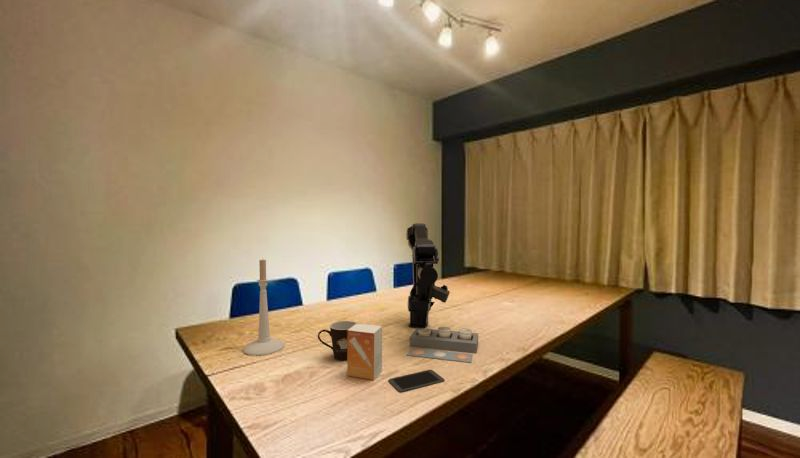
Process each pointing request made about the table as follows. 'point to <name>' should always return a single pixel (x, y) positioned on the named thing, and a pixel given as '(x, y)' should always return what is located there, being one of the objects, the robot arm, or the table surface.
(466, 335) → the right button
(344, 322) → the coffee mug
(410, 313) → the robot arm
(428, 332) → the left button
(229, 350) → the table surface
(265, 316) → the candlestick
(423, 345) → the button panel
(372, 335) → the small box
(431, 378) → the cell phone
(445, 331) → the middle button
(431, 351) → the pattern card
